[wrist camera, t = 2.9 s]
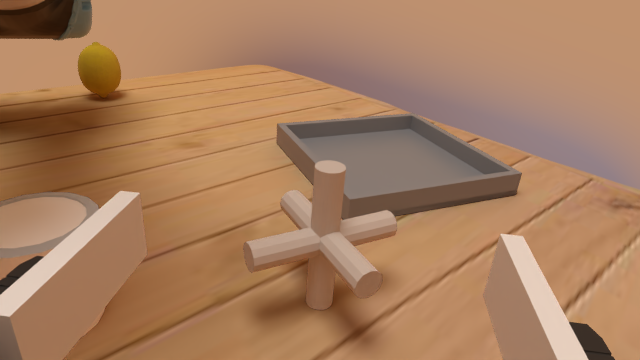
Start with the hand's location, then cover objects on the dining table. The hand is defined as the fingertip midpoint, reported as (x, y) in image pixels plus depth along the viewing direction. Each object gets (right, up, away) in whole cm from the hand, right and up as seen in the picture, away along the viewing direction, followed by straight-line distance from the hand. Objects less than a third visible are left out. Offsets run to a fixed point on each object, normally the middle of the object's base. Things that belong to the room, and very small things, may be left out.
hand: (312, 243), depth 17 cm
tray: (+8, +4, +35) cm, 36 cm away
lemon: (-32, +14, +51) cm, 61 cm away
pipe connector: (0, -6, +14) cm, 15 cm away
